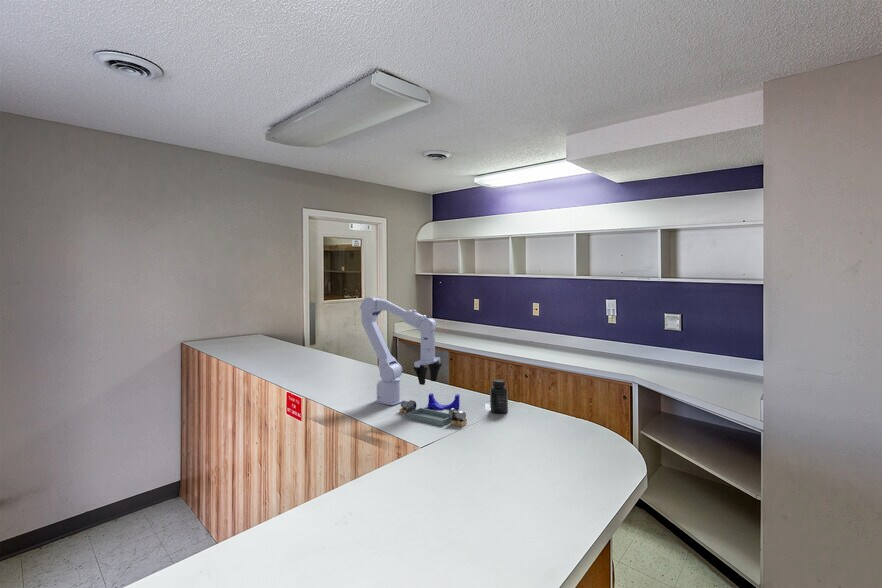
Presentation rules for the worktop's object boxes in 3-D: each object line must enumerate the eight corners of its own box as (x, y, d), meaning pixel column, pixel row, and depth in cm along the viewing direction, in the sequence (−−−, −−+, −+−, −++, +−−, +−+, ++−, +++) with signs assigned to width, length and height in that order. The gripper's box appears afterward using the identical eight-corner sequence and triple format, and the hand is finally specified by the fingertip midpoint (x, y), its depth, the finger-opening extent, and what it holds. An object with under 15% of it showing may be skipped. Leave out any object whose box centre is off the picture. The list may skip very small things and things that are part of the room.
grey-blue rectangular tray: (406, 418, 152) (406, 412, 152) (420, 412, 159) (420, 407, 159) (442, 426, 143) (442, 420, 143) (455, 420, 150) (455, 414, 150)
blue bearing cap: (427, 411, 161) (427, 396, 161) (429, 408, 166) (429, 393, 166) (458, 412, 160) (458, 397, 160) (459, 409, 164) (459, 394, 164)
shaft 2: (448, 425, 144) (448, 409, 144) (454, 421, 148) (453, 406, 148) (461, 427, 142) (461, 411, 142) (466, 423, 146) (466, 408, 146)
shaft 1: (416, 413, 158) (416, 399, 158) (407, 416, 155) (407, 401, 155) (407, 411, 161) (407, 397, 161) (399, 413, 158) (399, 399, 158)
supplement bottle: (509, 409, 163) (509, 379, 162) (506, 414, 156) (506, 383, 156) (492, 408, 165) (492, 378, 165) (488, 413, 158) (488, 381, 158)
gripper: (424, 351, 156) (424, 387, 156) (446, 347, 168) (446, 380, 168) (410, 350, 160) (410, 385, 160) (432, 346, 172) (432, 378, 172)
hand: (427, 382), depth 164 cm, fingers open, 7 cm apart
